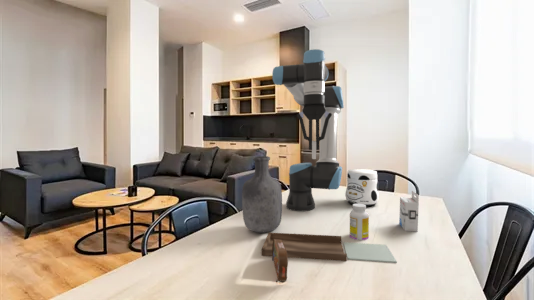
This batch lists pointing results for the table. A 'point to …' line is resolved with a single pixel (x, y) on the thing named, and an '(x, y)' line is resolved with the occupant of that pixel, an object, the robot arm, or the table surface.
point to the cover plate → (369, 252)
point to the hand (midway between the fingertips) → (314, 158)
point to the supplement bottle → (359, 222)
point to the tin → (280, 259)
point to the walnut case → (307, 246)
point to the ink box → (409, 212)
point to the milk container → (362, 187)
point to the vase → (262, 199)
